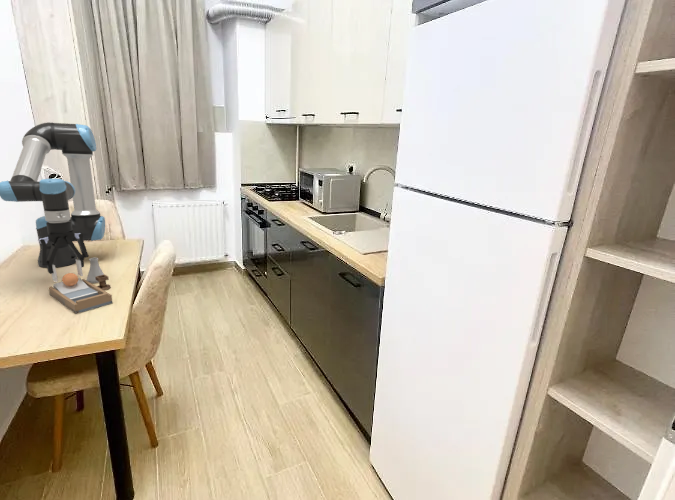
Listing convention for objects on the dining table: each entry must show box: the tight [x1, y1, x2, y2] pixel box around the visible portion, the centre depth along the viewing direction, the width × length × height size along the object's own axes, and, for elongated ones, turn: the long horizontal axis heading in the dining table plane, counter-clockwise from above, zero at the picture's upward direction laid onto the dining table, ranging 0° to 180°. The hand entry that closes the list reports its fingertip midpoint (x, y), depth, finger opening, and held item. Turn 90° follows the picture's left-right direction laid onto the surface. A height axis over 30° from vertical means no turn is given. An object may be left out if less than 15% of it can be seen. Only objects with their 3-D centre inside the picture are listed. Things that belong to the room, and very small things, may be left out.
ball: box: [61, 272, 79, 286], centre depth 139 cm, size 5×5×5 cm
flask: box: [85, 257, 105, 284], centre depth 154 cm, size 7×7×10 cm
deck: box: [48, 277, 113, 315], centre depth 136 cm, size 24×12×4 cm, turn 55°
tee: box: [95, 274, 111, 291], centre depth 147 cm, size 5×5×5 cm
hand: (68, 277), depth 140 cm, fingers open, 8 cm apart
